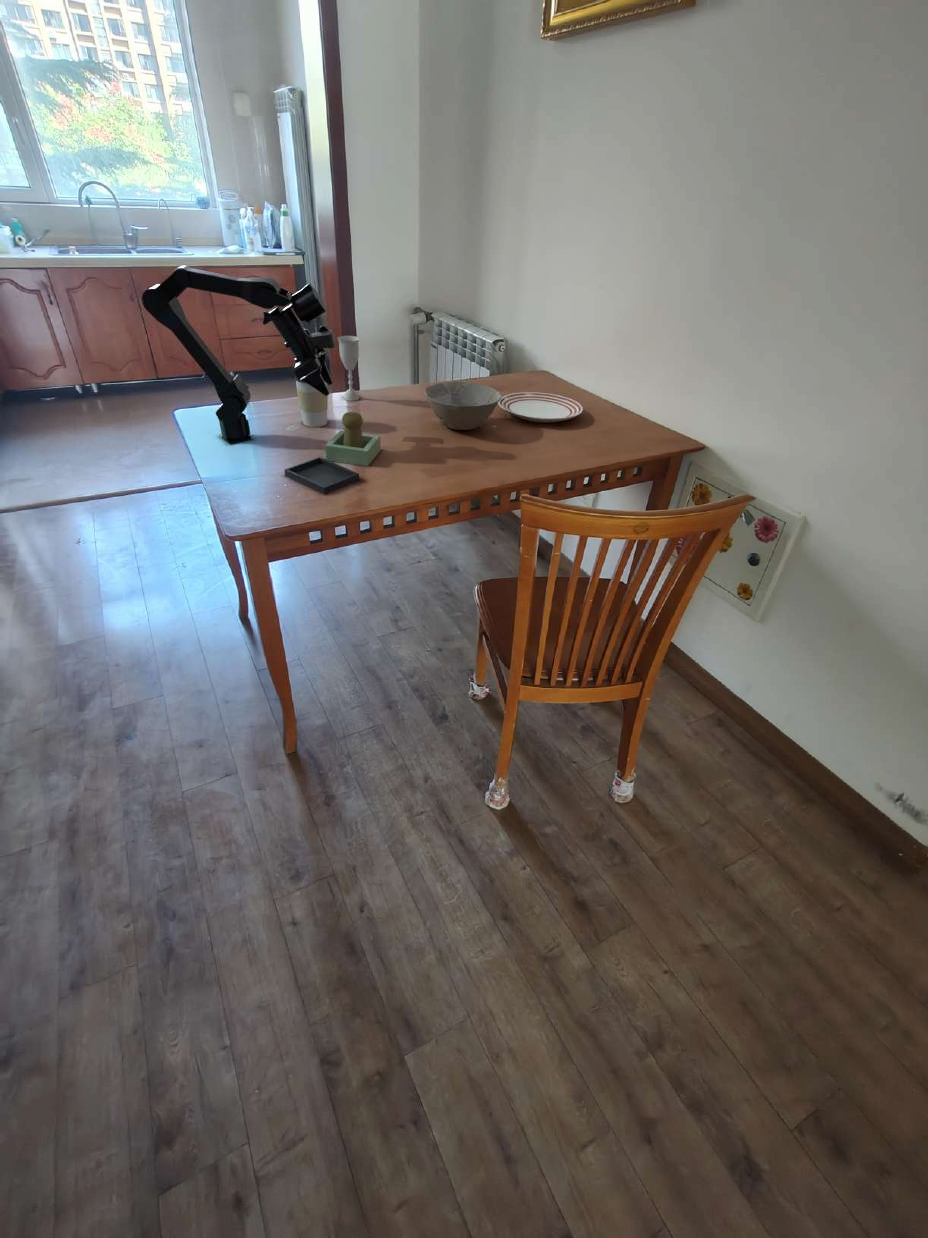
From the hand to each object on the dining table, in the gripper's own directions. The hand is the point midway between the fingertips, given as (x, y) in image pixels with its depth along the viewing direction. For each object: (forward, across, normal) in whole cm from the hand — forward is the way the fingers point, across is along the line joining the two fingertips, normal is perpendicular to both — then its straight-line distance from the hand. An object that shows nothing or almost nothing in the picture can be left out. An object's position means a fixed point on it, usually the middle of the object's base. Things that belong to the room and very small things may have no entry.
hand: (329, 389), depth 155 cm
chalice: (+14, +37, +5) cm, 40 cm away
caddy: (+15, -9, +2) cm, 18 cm away
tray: (+12, -24, +8) cm, 28 cm away
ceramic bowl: (+31, +15, -25) cm, 42 cm away
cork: (+15, -9, +2) cm, 18 cm away
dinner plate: (+45, +29, -48) cm, 71 cm away
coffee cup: (+9, +14, +13) cm, 21 cm away
